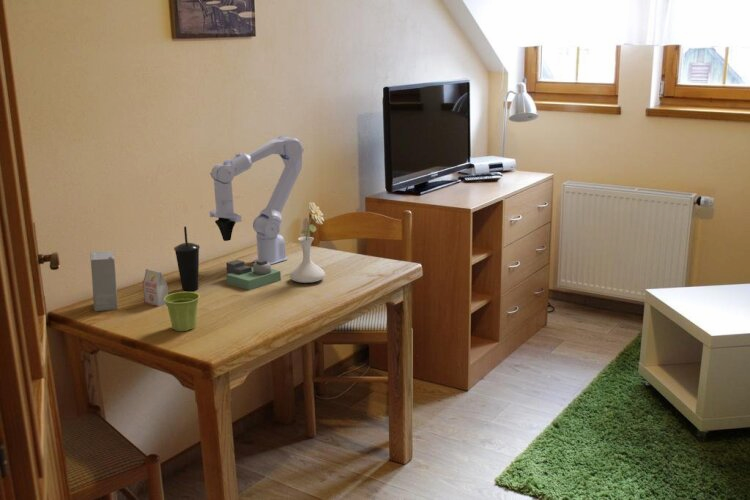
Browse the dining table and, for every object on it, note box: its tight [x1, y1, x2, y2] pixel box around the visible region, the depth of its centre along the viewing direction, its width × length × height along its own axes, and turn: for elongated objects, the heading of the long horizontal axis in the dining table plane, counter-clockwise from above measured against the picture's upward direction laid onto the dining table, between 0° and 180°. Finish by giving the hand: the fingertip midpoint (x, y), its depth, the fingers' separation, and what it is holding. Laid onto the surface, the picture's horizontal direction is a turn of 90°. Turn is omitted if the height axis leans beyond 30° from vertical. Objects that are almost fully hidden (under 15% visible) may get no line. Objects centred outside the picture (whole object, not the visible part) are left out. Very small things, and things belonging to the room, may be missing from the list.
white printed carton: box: [142, 268, 169, 308], centre depth 227 cm, size 4×7×10 cm, turn 52°
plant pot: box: [164, 291, 201, 332], centre depth 207 cm, size 9×9×9 cm
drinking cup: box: [173, 226, 201, 292], centre depth 238 cm, size 8×8×20 cm
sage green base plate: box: [225, 260, 282, 291], centre depth 246 cm, size 13×11×7 cm
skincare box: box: [90, 250, 118, 312], centre depth 225 cm, size 8×7×16 cm
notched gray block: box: [225, 259, 252, 275], centre depth 249 cm, size 4×7×6 cm, turn 48°
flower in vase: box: [289, 201, 326, 284], centre depth 245 cm, size 13×11×25 cm
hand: (227, 240), depth 260 cm, fingers closed
